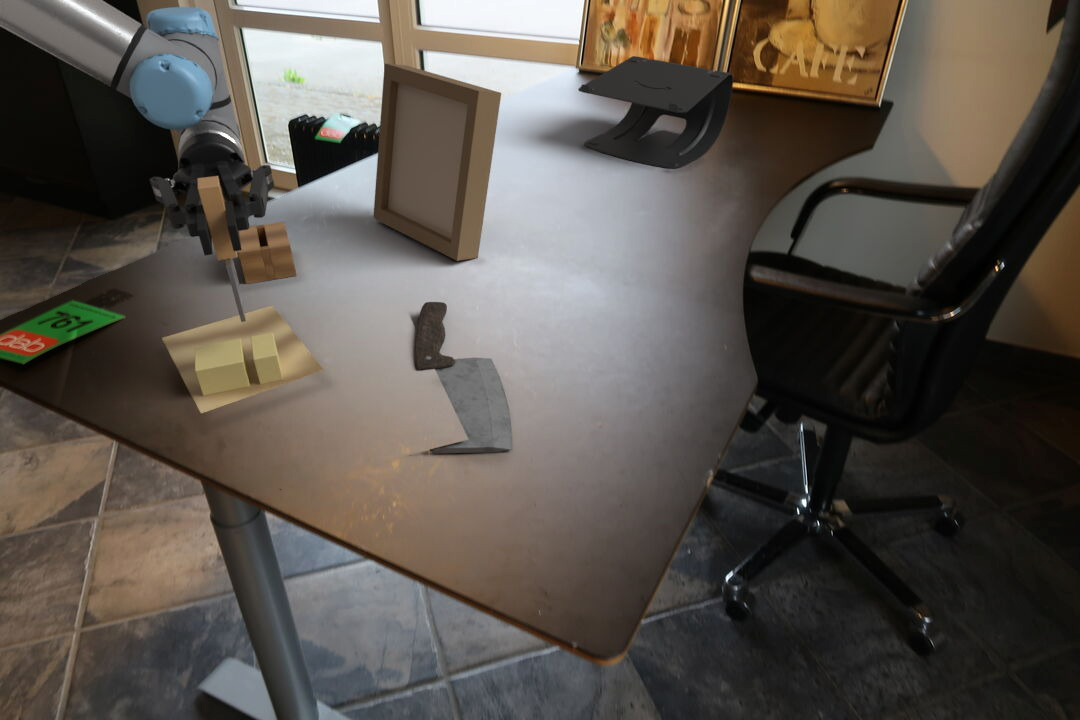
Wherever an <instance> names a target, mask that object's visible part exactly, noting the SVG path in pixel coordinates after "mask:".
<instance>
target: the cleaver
mask: <svg viewBox="0 0 1080 720" xmlns="http://www.w3.org/2000/svg"><path fill="white" fill-rule="evenodd" d="M447 311H448V306H447V304H446V303H445V302H442V301H427V302H424V303H423V304H422V306H421V308H420V312H419V314H418V318H417V324H416V330H415V336H414V337H415V339H414V366H415V371H416V372H418V371H419V372H420V371H421V372H422V371H429V370H435V373H436V374H437V377H438V379H439V381H440V383H441V386H442V387H443V389H444V391H445V394H446V396H447V397H448V399H449V402H450V404H451V406H452V408H453V410H454V412H455V414H456V416H457V419H458V420H459V423H460V424H461V426H462V427H461V428H462V429H463V431H464V434H465V435H466V437H467V439H464V440H461V441H457V442H453V443H449V444H445V445H442V446H437V447H433V448H430V449H429V451H430V453H431V454H485V453H486V454H487V453H488V454H490V453H491V454H493V453H501V452H507V451H513V435H512V434H513V433H512V422H511V415H510V409H509V405H508V400H507V396H506V392H505V389H504V386H503V383H502V380H501V378H500V375H499V372H498V370H497V368H496V365H495V364H494V360H493V358H486V357H466V358H454V357H453V356H449V355H443V354H442V353H441V352H440V351H441V349H442V348H443V344H444V343H445V340H446V328H445V325H444V322H443V321H444V319H445V316H446V315H447Z"/></svg>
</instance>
